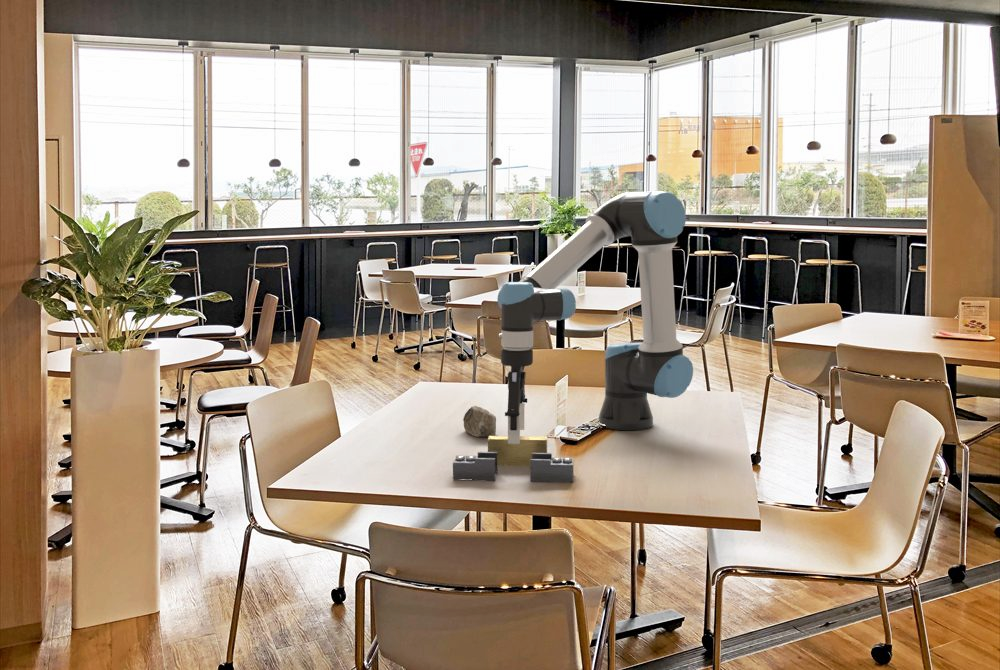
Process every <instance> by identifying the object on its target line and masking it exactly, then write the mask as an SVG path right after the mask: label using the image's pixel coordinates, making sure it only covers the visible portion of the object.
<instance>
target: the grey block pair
mask: <svg viewBox="0 0 1000 670" xmlns="http://www.w3.org/2000/svg"><path fill="white" fill-rule="evenodd" d="M574 461H575V458H574V457H570V456H569V457H568V456H567V457H560V456H559V457H558V456H553V455H552V452H547V453H532V459H530V466H529V470H530V471H529V472H530V473H529V475H530V478H529V481H530V483H532V482H533V483H568V484H569V483H571V484H572V483H574V467H575V466H574V465H575V464H574ZM498 466H499V465H498V454H497V452H488V451H477V455H463V454H460V455H456V456H455V457H454V459H453V461H452V480H453V479H472V480H471V481H477V480H491V481H490V482H495V481H496V475H497V474H498V473H499V471H498V469H499V467H498Z"/></svg>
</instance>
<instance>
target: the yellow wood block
mask: <svg viewBox="0 0 1000 670" xmlns="http://www.w3.org/2000/svg"><path fill="white" fill-rule="evenodd" d="M487 452H497V454H498V466H520V467H523V466H524V467H525V466H526V467H530V459H532V453H548V436H525V435H523V436H522V435H520V444H508V435H506V436H505V435H495V436H489V437H487Z"/></svg>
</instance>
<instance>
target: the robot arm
mask: <svg viewBox="0 0 1000 670" xmlns="http://www.w3.org/2000/svg"><path fill="white" fill-rule="evenodd" d="M686 217H687V216H686V209H685V207H684V204H683V202H682V200H681V199H679V198H678V197H677V196H676V194H674V193H672V192H670V191H662V190H651V191H649V190H648V191H625V192H623V193H620V194H618V195H615V196H614V197H611V198H610V199H609V200H607V201H605V203H603V204H601V205H600V206H599V207H598V208H596V209H595V210H594V211H593V212H592V213H590V214H589V215H588V216H587V217H586V218H585V224H584V225H582V226H581V227H580V228H579V229H578V230H577V231H576V232H574V233H573V234H572V235H571V236H570V237H569V238H567V240H566V241H564V242H562V244H561V245H560V246H559V247H557V248H555V250H554V251H553V252H551V253H550V254H549V255H548V256H547V257H546V258H544V260H542V261H541V262H540V263H539V264H538V265H536V267H534V268H533V269H532V270H531V271H529V273H527V275H525V276H524V277H523V278H522V279H520V281H509V282H505V283H503V284H502V286H501V288H500V290H499V292H498V294H497V304H498V307H499V308H500V311H501V312H500V318H501V319H500V321H501V322H500V324H501V325H500V327H501V328H500V329H501V333H499V334H498V337H499V338H501V340H500V343H501V344H500V346H502V348H501V350H500V363H501V364H502V365H503V366H505V367H510V371H508V373H507V380H508V383H507V390H508V393H507V397H508V399H507V411H505V412H504V416H505V417H507V436H508V444H520V436H521V434H520V433H521V431H524V430H525V404H527V403H528V398H527V397H526V393H525V392H526V391H525V390H526V389H525V385H526V375H527V374H526V371H525V368H526V367H528V366H532V365H533V363H534V357H533V356H534V350H533V349H532V347H533V346H534V322H542V321H543V322H545V321H546V322H547V321H561V320H568V319H570V318H571V317H573V316H574V314H575V312H576V310H577V309H576V308H577V301H576V297H575V295H574V293H573V291H571V290H570V289H568V288H561V287H559V286H560V285H561V284H563V283H564V282H565V281H566V280H567V279H568V278H569V277H570V276H572V274H574V273H575V272H576V271H577V270H578V269H580V268H581V267H582V266H583V265H584V264H585V263H586V262H587V261H588V260H589V259H590V258H592V257H593V256H594V255H595V254H596V253H597V252H599V251H600V250H601V249H602V248H603V247H604V246H606V247H607V246H610V245H612V244H613V243H614V242H615V241H617V240H619V239H621V238H626V237H631V246H632V247H633V248H634V249H635V250H636V251H637V253H638V268H639V269H638V270H639V287H640V288H639V289H640V303H641V304H640V305H641V320H642V337H643V339H642V340H643V341H642V342H641V341H640V342H639V341H638V342H626V343H624V342H623V343H614V344H610V345H609V346H607V348H606V349H605V357H604V391H605V392H604V399H603V402H602V405H601V408H600V411H599V415H598V423H599V422H600V423H602V424H605V425H606V428H605V429H610V430H616V431H617V430H619V431H639V430H645V429H649V428H651V427H653V425H654V416H653V413H652V409H651V406H650V403H649V400H648V395H654V396H657V397H658V398H669V399H673V398H678V397H680V396H681V395H683V394H684V393H685V392H686V391H687V389H688V387H689V386H690V385H691V383H692V380H693V377H694V365H693V363H692V361H691V360H690V358H689V357H688V356H686V355H684V348H683V347H684V346H683V344H682V343H681V342H680V341H679V340H678V339H677V326H676V306H675V305H676V304H675V287H674V286H675V285H674V270H673V269H674V268H673V251H672V250H673V248H674V247H675V246H676V244H677V243H678V236H679V235H680V234H682V232H683V230H684V227H685V226H686V219H687V218H686Z"/></svg>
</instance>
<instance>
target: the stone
mask: <svg viewBox="0 0 1000 670" xmlns="http://www.w3.org/2000/svg"><path fill="white" fill-rule="evenodd" d="M462 421H463V428H464V430H465V431H466V432H467V433H468V434H470V435H472V436H474V437H475V438H483V437H487V438H489V436H497V435H496V434H497V417H496V415H494V414H493V413H491V412H490V411H489V410H487V409H485V408H483V407H480V406H477V405H474V406H470V408H468V410H466V412H465V413H464V416H463V420H462Z"/></svg>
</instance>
